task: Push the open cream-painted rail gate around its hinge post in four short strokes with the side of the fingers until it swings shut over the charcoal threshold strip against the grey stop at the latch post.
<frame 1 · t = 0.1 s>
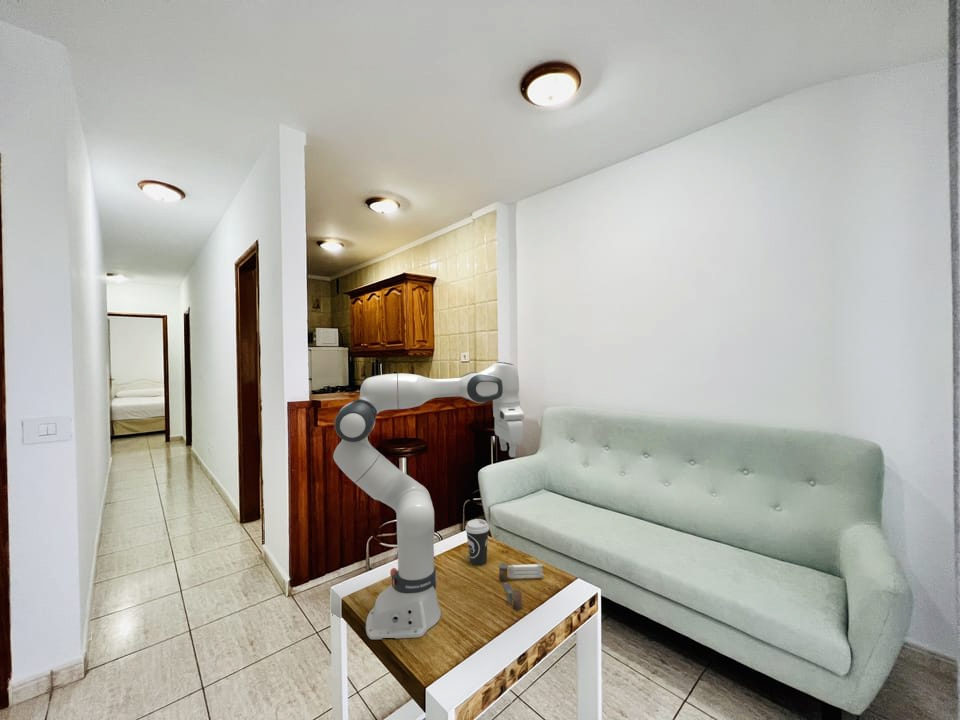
hand: (507, 453, 125), 48 cm above the table, fingers open, 8 cm apart
gate: (525, 571, 136), point 3 cm above the table, hinge at 12.0°
latch post: (517, 607, 120), on the table
threshold: (509, 592, 128), on the table
hinge post: (503, 580, 136), on the table
coffee cup: (478, 562, 149), on the table
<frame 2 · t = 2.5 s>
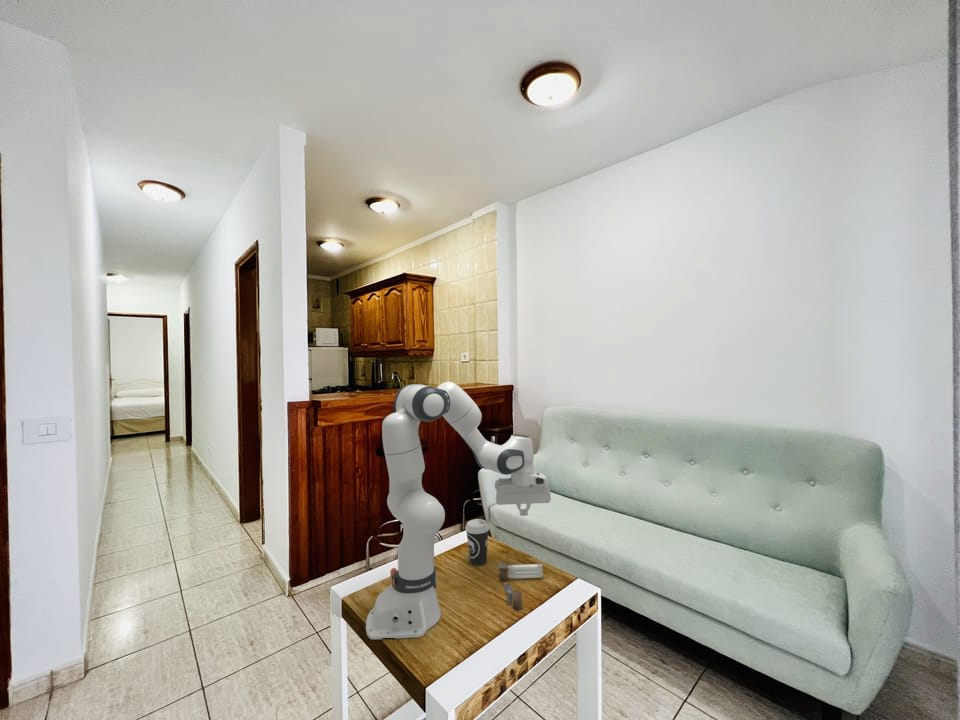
hand: (523, 515, 141), 21 cm above the table, fingers closed
nothing on the table moved.
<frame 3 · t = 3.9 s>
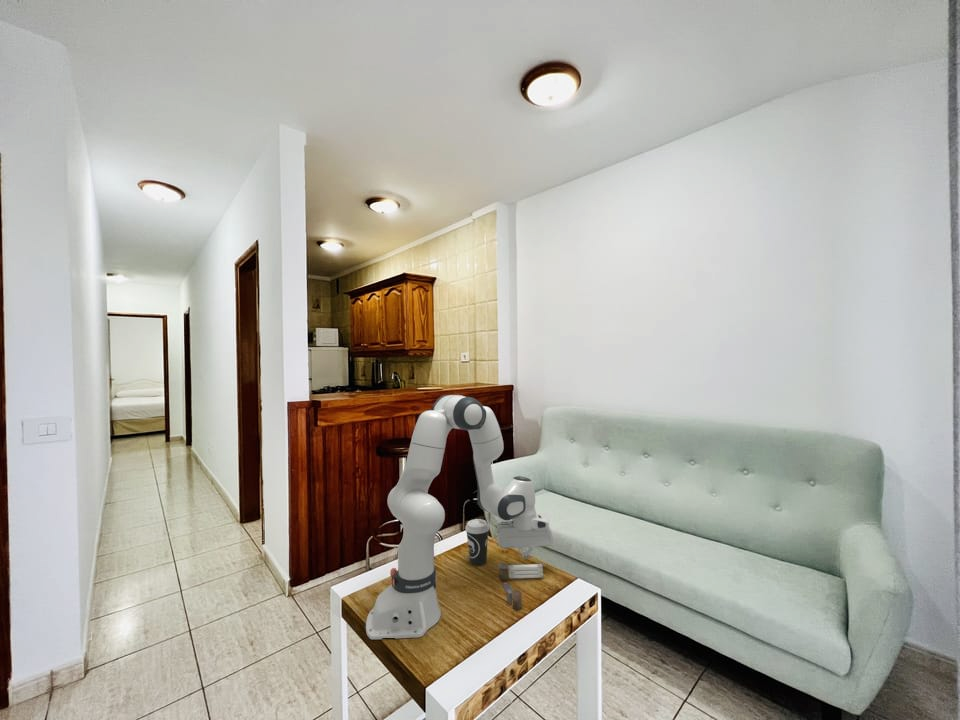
hand: (525, 557, 141), 5 cm above the table, fingers closed
nothing on the table moved.
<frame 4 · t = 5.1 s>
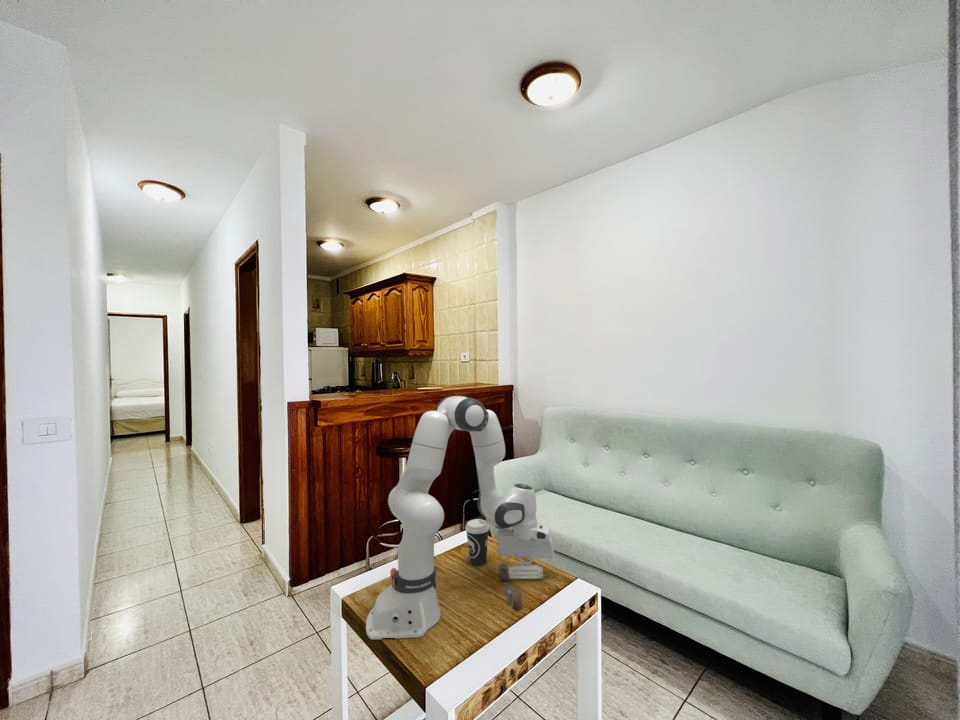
hand: (526, 567, 137), 3 cm above the table, fingers closed
gate: (525, 571, 135), point 3 cm above the table, hinge at 14.8°, touching gripper
everything else where it was.
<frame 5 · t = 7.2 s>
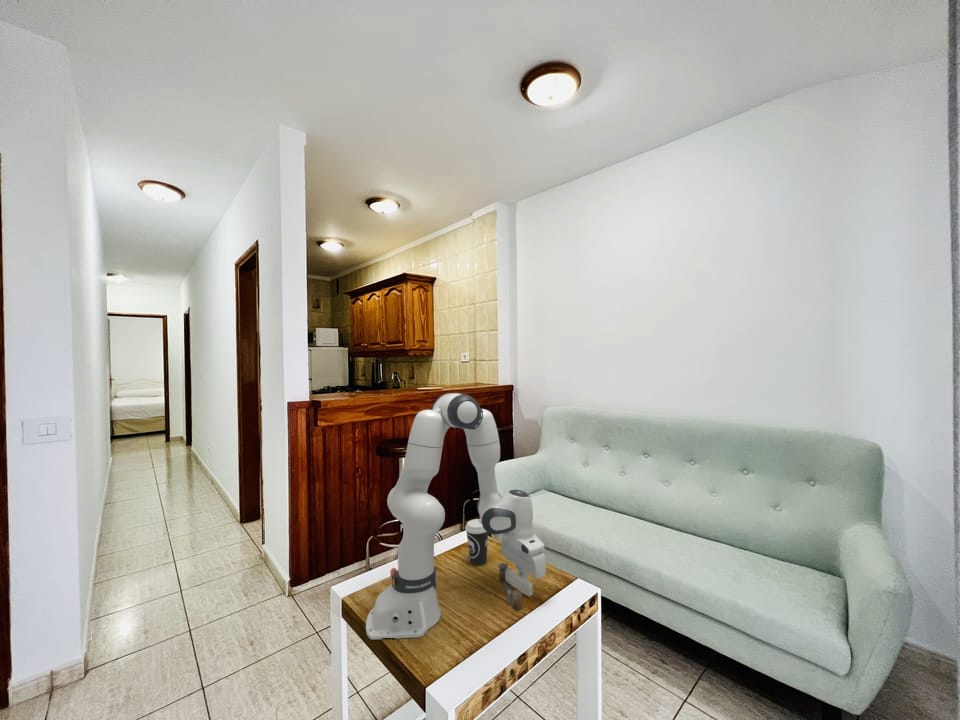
hand: (522, 579, 130), 3 cm above the table, fingers closed, pressing on gate
gate: (518, 581, 129), point 3 cm above the table, hinge at 66.2°, touching gripper
everything else where it was.
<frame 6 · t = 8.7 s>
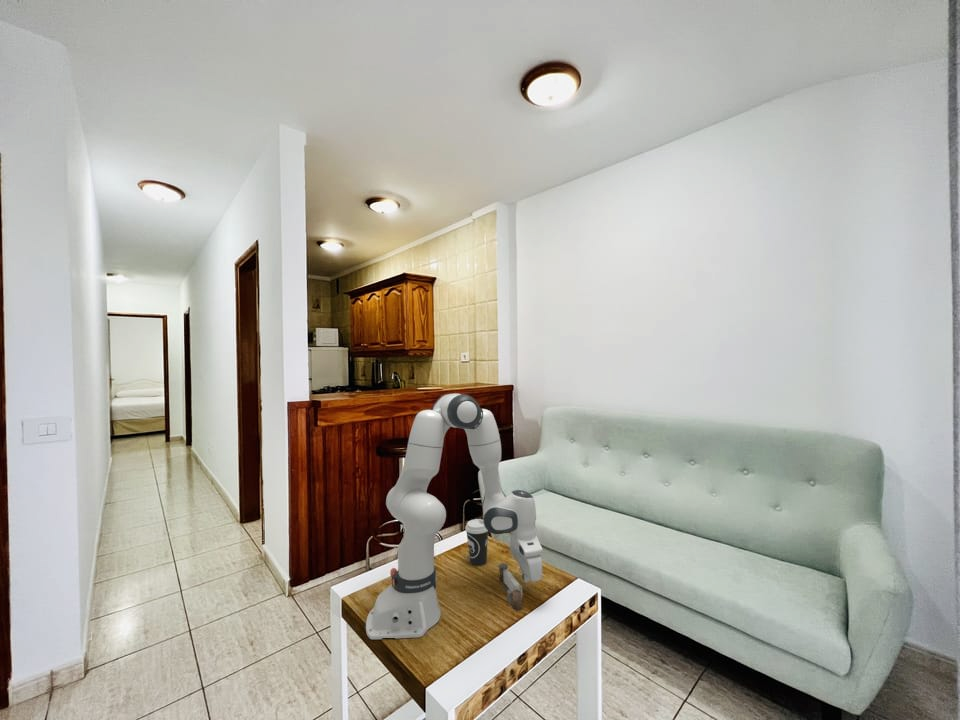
hand: (525, 580, 129), 4 cm above the table, fingers closed
gate: (512, 583, 128), point 3 cm above the table, hinge at 83.2°
everything else where it was.
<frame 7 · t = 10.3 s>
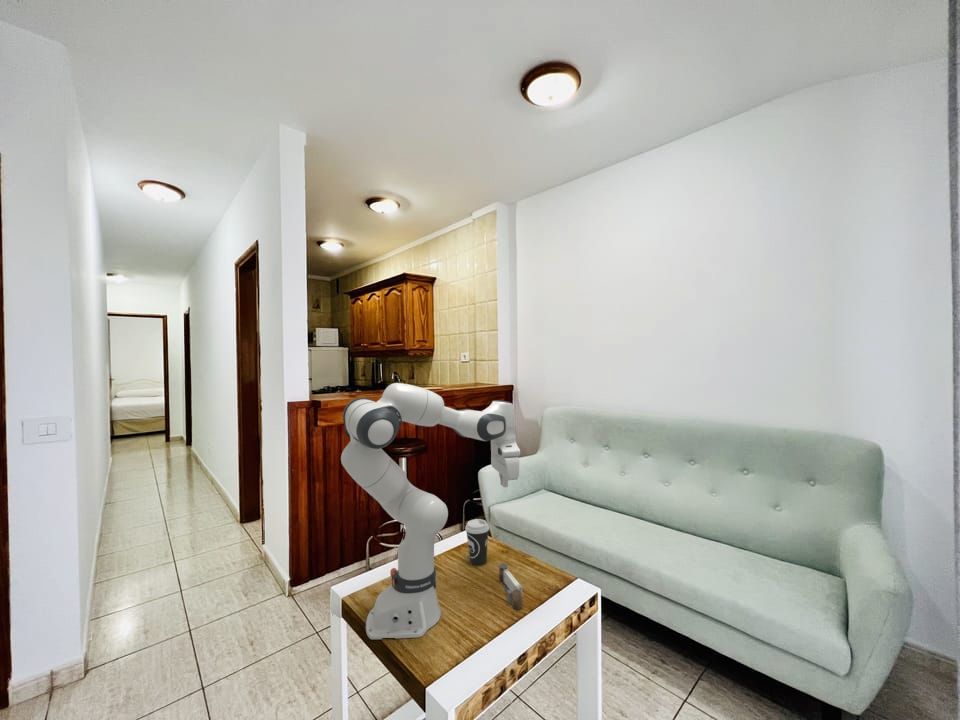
hand: (504, 486, 133), 34 cm above the table, fingers closed
nothing on the table moved.
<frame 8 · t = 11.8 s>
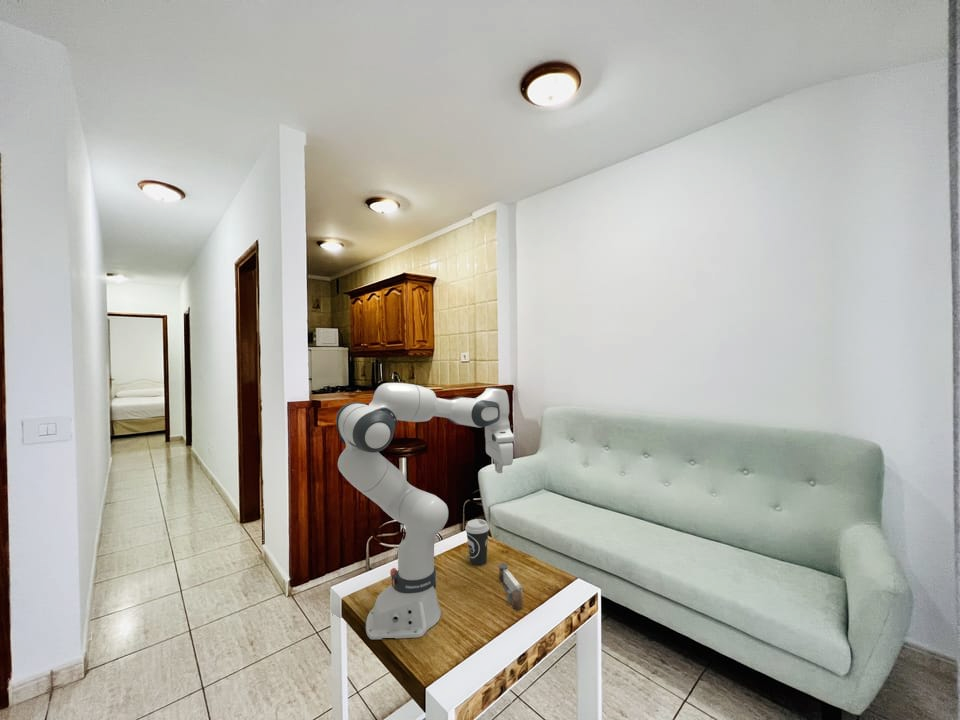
hand: (498, 472, 134), 39 cm above the table, fingers closed
nothing on the table moved.
at the end: gate at +83° (first picture: +12°) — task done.
